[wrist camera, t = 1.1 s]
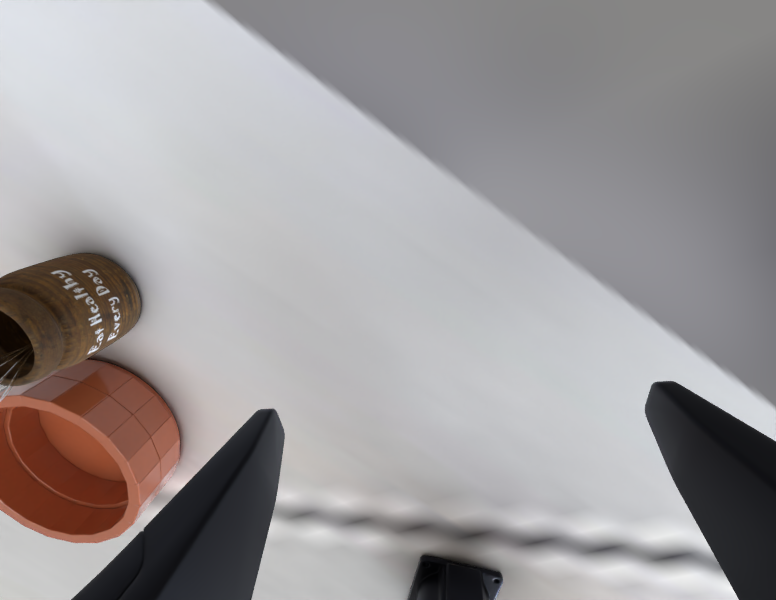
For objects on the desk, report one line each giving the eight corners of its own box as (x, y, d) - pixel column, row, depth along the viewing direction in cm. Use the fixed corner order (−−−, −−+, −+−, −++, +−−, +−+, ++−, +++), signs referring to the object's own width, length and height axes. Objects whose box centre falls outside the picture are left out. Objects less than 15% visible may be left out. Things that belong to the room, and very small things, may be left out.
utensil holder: (86, 342, 28) (-147, 474, 17) (39, 255, 26) (-262, 340, 15) (160, 328, 27) (-36, 459, 16) (117, 236, 25) (-143, 312, 14)
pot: (185, 500, 32) (144, 559, 28) (44, 467, 33) (-21, 521, 28) (183, 374, 28) (133, 420, 23) (19, 338, 28) (-62, 377, 24)
